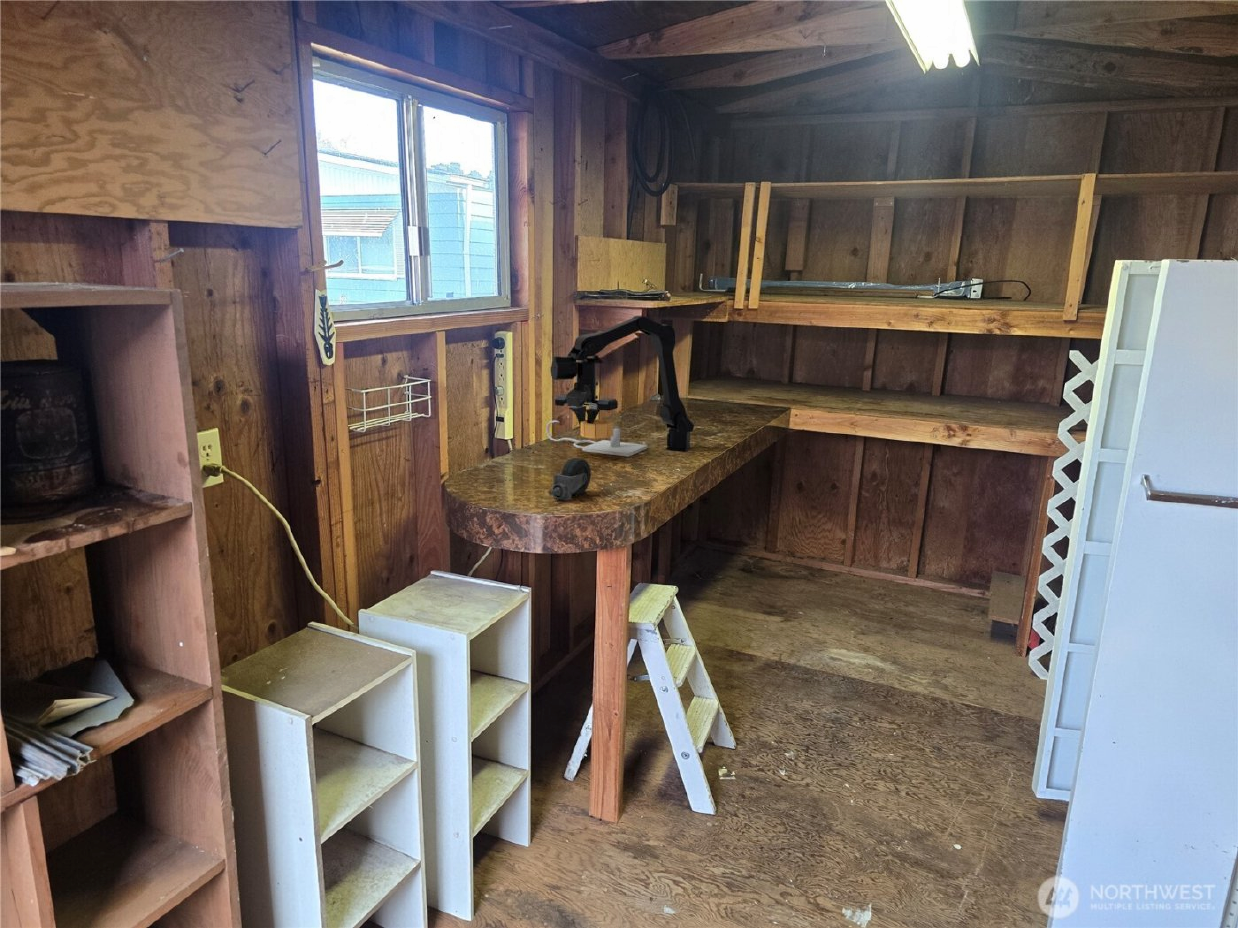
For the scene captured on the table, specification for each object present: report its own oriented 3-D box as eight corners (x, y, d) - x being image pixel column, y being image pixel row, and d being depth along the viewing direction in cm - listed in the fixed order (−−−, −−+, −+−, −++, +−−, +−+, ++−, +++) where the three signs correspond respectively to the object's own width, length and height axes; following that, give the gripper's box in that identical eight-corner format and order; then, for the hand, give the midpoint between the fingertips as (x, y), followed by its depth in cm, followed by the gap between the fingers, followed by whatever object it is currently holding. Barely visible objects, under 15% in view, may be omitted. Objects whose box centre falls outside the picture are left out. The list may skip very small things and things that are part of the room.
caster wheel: (576, 492, 198) (540, 500, 185) (578, 455, 196) (542, 460, 183) (594, 496, 195) (559, 504, 182) (597, 458, 193) (561, 463, 181)
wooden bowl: (617, 434, 232) (617, 421, 231) (603, 439, 224) (603, 425, 223) (590, 431, 236) (590, 418, 235) (575, 436, 228) (575, 423, 227)
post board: (647, 448, 247) (647, 428, 245) (628, 456, 234) (628, 435, 233) (603, 442, 254) (603, 423, 252) (582, 450, 241) (582, 430, 240)
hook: (554, 436, 263) (601, 453, 252) (536, 440, 255) (583, 457, 245) (556, 415, 260) (604, 431, 250) (538, 419, 253) (586, 436, 243)
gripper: (544, 379, 225) (544, 432, 228) (601, 384, 216) (600, 438, 220) (564, 375, 234) (564, 426, 238) (619, 380, 226) (618, 432, 230)
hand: (585, 430), depth 231 cm, fingers closed on wooden bowl, 2 cm apart
